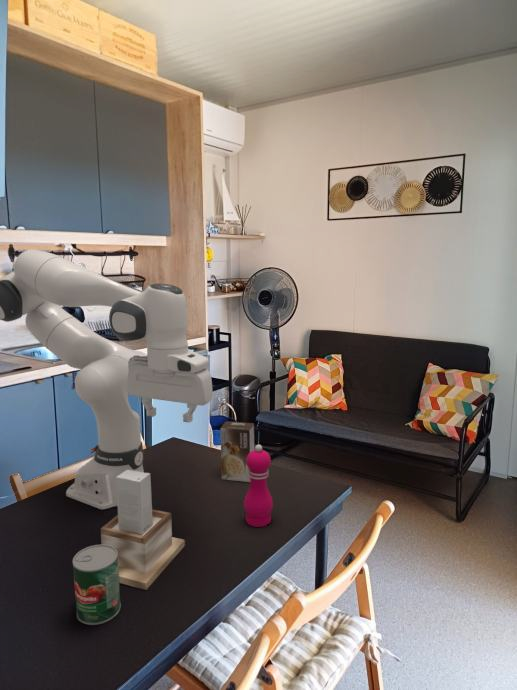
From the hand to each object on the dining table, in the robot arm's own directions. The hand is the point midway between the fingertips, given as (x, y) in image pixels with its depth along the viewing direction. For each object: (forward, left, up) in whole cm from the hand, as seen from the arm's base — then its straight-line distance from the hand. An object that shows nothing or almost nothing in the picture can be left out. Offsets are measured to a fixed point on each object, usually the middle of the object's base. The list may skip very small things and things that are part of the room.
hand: (169, 418), depth 111 cm
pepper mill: (+17, +13, -29) cm, 36 cm away
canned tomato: (-1, -26, -29) cm, 39 cm away
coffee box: (+3, +34, -29) cm, 45 cm away
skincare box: (-2, -11, -21) cm, 24 cm away
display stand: (-2, -11, -29) cm, 31 cm away
